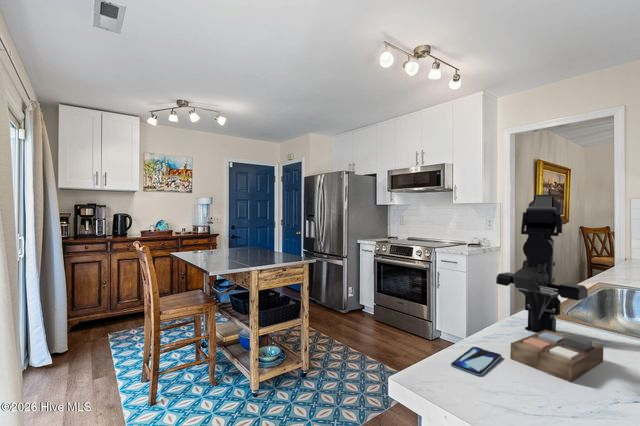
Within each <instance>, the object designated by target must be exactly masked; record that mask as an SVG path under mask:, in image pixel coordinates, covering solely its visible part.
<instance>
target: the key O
mask: <svg viewBox="0 0 640 426" xmlns="http://www.w3.org/2000/svg"><path fill="white" fill-rule="evenodd" d="M565 336H566V337H564V346H568V347H571V348H574V349H577V350H580V351H584V352H589V351H590V350H592V343H593V339H589V338H585V337H582V336H579V335H576V334H569V335H565Z"/></svg>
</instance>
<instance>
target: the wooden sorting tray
mask: <svg viewBox="0 0 640 426" xmlns="http://www.w3.org/2000/svg"><path fill="white" fill-rule="evenodd" d="M545 332H547V333H550V334H553V335H557V336H560V337H563V338H564V337H566V336H567V335H566V334H561V333H559V332H558V333H557V332H552V331H548V330H544V331H541V332H538V333H537V332H535V333H533V334H530V335H528V336H526V337H523V338H521V339H518V340H515V341H513V342H510V355H509V356H510V357H509V359H510V360H511V361H512V360H513V361H515V362H518V363H520V364H523V365H524V366H525V365H526V366H527V367H530V368H533V369H536V370H538V371H541V372H544V373H545V374H549V375H550V376H554V377H556V378H558V379H560V380H563V381H566V382H569V383H572V382H574V381H576V380H577V379H579V378H580V377H582V376H584V375H585V374H587V373H588V372H590V371H592V370H593V369H595V368H597V367H598V366H600V365H601V364H603V363H604V349H605V348H604V346H603V345H599V344H596V343H593V342H592V350H590V351H589V352H584V351H580V350H577V349H574V348H571V347H568V346H564V341H562V342H560V343H555V342H552V341H549V340H545V339H542V338H539V337H538V335H539V334H542V333H545ZM529 338H534V339H537V340H540V341H543V342H546V343H549V344H550V347H549V348H547V349H545V350H541V349H539V348H536V347H533V346H530V345H527V344H524V343H523V341H524V340H527V339H529ZM557 346H559V347H562V348H565V349H568V350H571V351H574V352H577V353H579V357H578V358H576V359H574V360H571V359H568V358H565V357H562V356H559V355H556V354H553V353H550V352H549V350H550V349H552V348H555V347H557Z"/></svg>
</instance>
